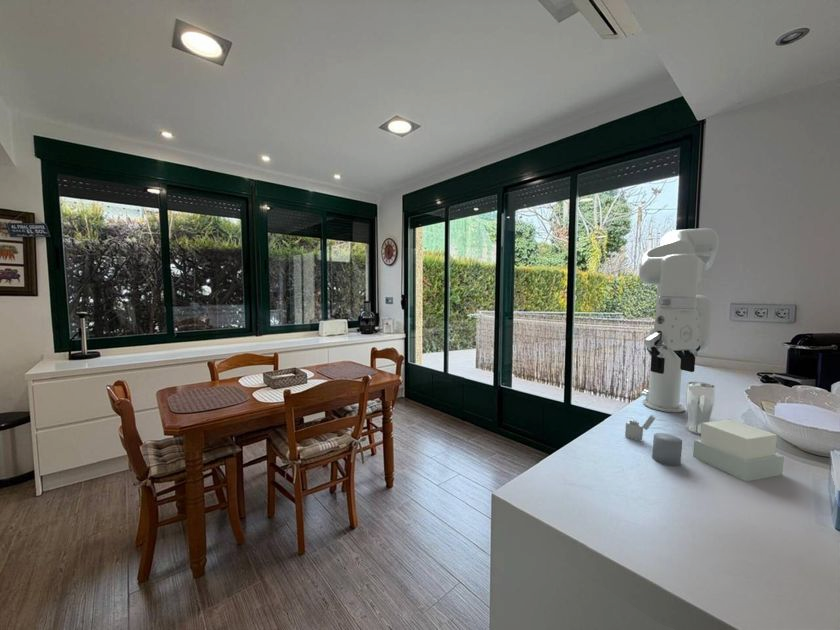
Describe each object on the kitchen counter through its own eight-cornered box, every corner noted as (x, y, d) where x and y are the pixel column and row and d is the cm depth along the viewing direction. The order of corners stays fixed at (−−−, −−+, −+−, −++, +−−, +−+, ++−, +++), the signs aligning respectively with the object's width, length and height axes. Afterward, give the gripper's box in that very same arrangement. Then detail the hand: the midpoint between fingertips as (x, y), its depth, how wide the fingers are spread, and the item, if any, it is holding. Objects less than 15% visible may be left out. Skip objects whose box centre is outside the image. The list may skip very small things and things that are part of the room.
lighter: (624, 436, 102) (626, 410, 101) (626, 435, 103) (628, 409, 103) (653, 444, 97) (654, 417, 96) (654, 442, 98) (656, 416, 98)
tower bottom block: (692, 457, 90) (694, 439, 90) (726, 452, 93) (727, 435, 93) (745, 482, 79) (747, 462, 79) (782, 476, 82) (784, 456, 81)
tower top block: (700, 441, 89) (701, 422, 89) (728, 437, 92) (729, 419, 91) (745, 459, 80) (747, 439, 79) (775, 454, 82) (776, 434, 82)
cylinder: (646, 455, 90) (648, 434, 90) (664, 453, 92) (665, 432, 91) (667, 467, 85) (669, 444, 84) (686, 464, 86) (688, 442, 86)
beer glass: (701, 427, 110) (705, 381, 108) (718, 436, 103) (722, 388, 102) (678, 426, 110) (681, 381, 109) (693, 435, 103) (697, 387, 102)
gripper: (663, 304, 79) (658, 377, 80) (719, 305, 83) (713, 373, 85) (635, 303, 86) (631, 369, 88) (688, 303, 91) (683, 367, 92)
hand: (672, 371), depth 86 cm, fingers open, 9 cm apart
